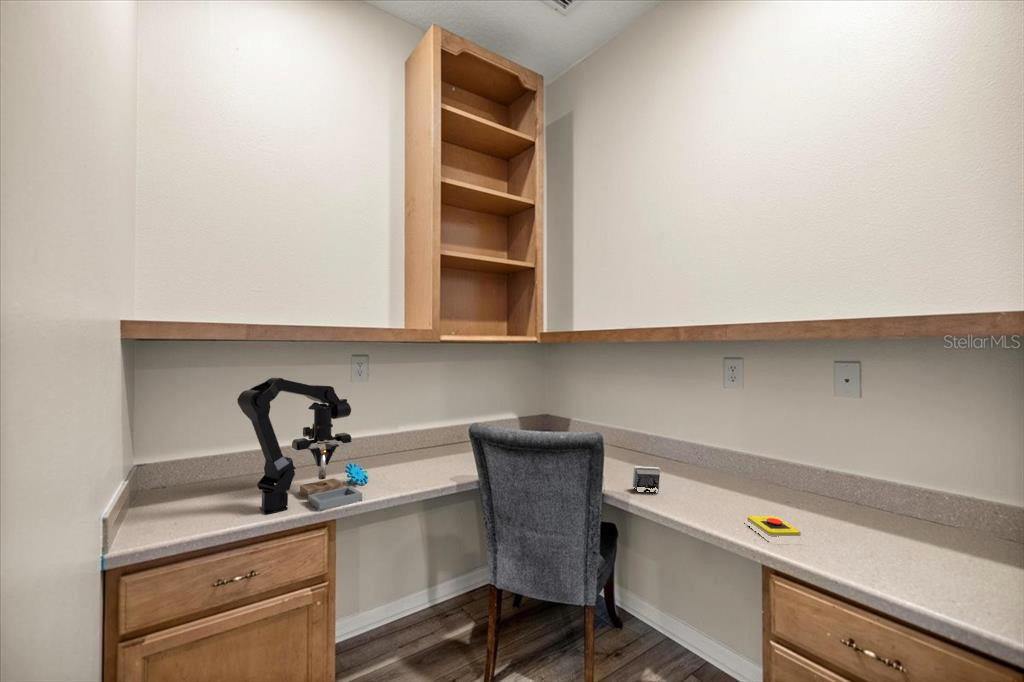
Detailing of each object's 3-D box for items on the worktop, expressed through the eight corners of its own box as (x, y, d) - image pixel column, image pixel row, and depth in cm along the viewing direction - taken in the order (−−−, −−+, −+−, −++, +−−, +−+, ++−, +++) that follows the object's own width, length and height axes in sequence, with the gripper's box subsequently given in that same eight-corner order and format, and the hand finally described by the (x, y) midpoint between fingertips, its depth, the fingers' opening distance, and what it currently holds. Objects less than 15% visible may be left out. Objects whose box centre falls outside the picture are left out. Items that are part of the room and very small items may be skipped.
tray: (319, 511, 138) (319, 503, 138) (308, 502, 145) (308, 495, 145) (362, 500, 147) (362, 493, 147) (349, 493, 155) (349, 486, 155)
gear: (356, 485, 158) (342, 463, 162) (345, 495, 159) (332, 473, 163) (376, 480, 169) (363, 460, 172) (366, 490, 169) (353, 469, 173)
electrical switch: (658, 490, 161) (659, 465, 161) (661, 496, 156) (662, 470, 156) (632, 488, 163) (632, 464, 162) (634, 495, 158) (634, 469, 157)
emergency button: (772, 530, 118) (741, 509, 133) (772, 546, 118) (741, 523, 133) (806, 530, 118) (772, 509, 133) (806, 546, 118) (771, 523, 133)
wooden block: (307, 499, 148) (308, 490, 148) (299, 493, 153) (299, 485, 154) (343, 491, 156) (343, 483, 156) (334, 486, 162) (334, 478, 162)
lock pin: (319, 480, 152) (319, 451, 153) (315, 478, 155) (315, 449, 155) (328, 478, 155) (329, 450, 155) (325, 476, 157) (325, 448, 157)
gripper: (339, 415, 167) (339, 456, 167) (287, 421, 154) (286, 465, 154) (352, 419, 159) (351, 462, 159) (297, 425, 146) (297, 472, 146)
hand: (322, 465), depth 155 cm, fingers closed on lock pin, 3 cm apart
